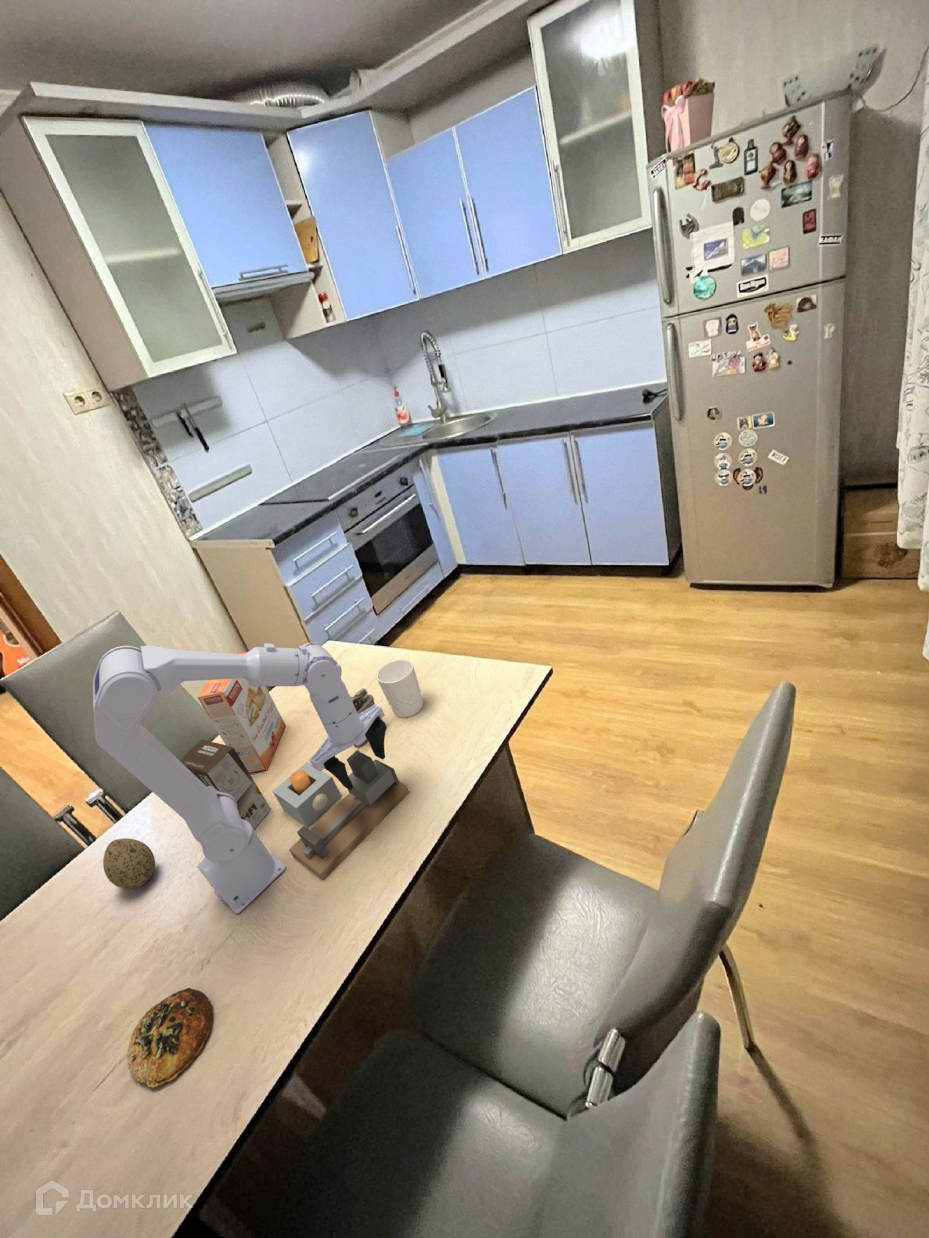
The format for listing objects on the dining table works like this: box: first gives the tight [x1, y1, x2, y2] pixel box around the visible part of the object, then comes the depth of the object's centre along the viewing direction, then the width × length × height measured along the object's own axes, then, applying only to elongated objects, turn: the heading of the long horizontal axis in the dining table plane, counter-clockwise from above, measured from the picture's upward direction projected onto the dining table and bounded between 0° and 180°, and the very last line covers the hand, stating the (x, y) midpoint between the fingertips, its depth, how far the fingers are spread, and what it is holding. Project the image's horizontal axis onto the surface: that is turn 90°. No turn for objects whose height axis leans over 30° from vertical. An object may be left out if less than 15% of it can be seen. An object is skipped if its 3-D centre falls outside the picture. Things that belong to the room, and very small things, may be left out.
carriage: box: [346, 750, 395, 805], centre depth 99 cm, size 6×6×7 cm
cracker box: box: [197, 651, 286, 774], centre depth 118 cm, size 14×6×21 cm, turn 179°
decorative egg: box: [102, 838, 156, 890], centre depth 97 cm, size 7×7×10 cm
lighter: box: [350, 687, 384, 748], centre depth 116 cm, size 8×3×10 cm, turn 143°
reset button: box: [289, 769, 312, 796], centre depth 103 cm, size 3×3×4 cm
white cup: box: [376, 658, 424, 718], centre depth 121 cm, size 8×8×10 cm
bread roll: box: [126, 987, 213, 1088], centre depth 74 cm, size 11×11×5 cm
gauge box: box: [272, 761, 342, 828], centre depth 104 cm, size 8×8×5 cm
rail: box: [288, 759, 410, 881], centre depth 98 cm, size 20×9×5 cm, turn 139°
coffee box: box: [179, 739, 272, 830], centre depth 103 cm, size 9×6×16 cm
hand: (364, 771), depth 99 cm, fingers open, 7 cm apart
